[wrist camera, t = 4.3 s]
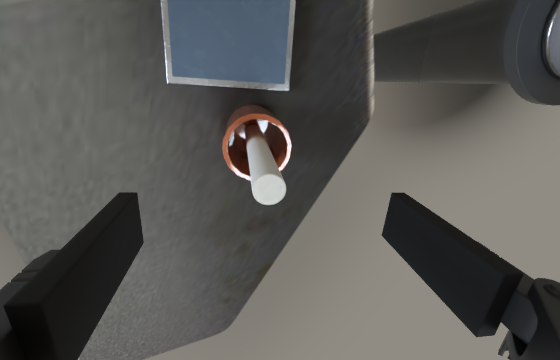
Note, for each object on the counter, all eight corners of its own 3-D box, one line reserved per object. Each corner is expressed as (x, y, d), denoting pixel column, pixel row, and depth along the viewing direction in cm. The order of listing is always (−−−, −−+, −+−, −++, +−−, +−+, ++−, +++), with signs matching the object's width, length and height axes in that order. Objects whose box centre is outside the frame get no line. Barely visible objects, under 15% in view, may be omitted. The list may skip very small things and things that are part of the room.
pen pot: (279, 106, 35) (294, 115, 26) (276, 156, 38) (288, 181, 29) (226, 103, 34) (222, 112, 25) (226, 155, 37) (223, 180, 28)
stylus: (261, 123, 35) (287, 174, 17) (260, 140, 36) (285, 205, 17) (244, 123, 35) (252, 173, 16) (244, 139, 36) (251, 205, 17)
